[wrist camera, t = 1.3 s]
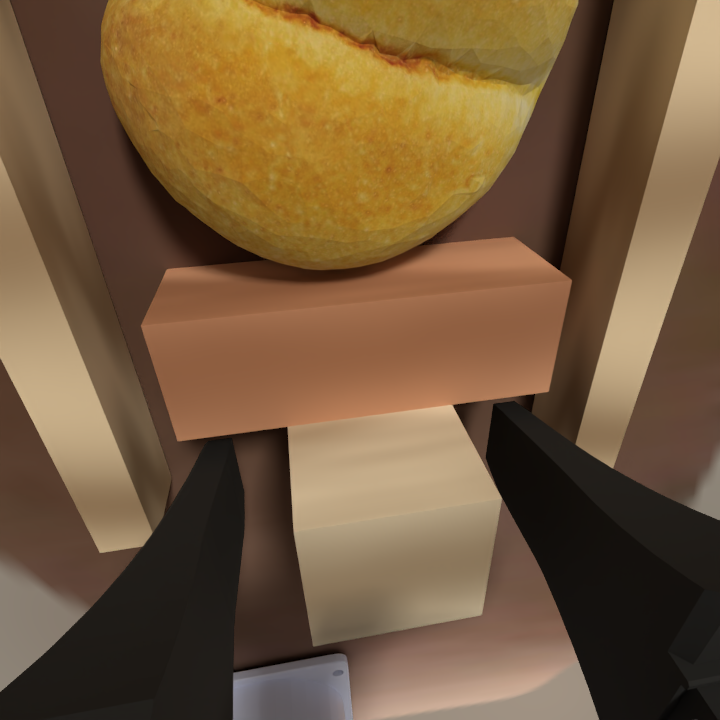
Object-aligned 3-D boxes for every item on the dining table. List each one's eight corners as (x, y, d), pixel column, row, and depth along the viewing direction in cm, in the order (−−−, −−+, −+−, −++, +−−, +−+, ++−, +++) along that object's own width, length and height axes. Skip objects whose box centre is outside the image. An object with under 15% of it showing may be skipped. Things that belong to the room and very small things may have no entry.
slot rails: (568, 422, 17) (610, 474, 15) (123, 484, 15) (100, 552, 13) (751, -288, 8) (909, -399, 6) (-223, -335, 7) (-444, -510, 5)
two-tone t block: (486, 434, 17) (580, 596, 12) (221, 472, 16) (200, 667, 11) (513, 236, 13) (667, 350, 8) (167, 269, 12) (96, 423, 7)
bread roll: (101, 183, 11) (28, 241, 8) (180, -432, 7) (98, -880, 4) (423, 286, 14) (473, 362, 10) (613, -116, 10) (799, -206, 6)
